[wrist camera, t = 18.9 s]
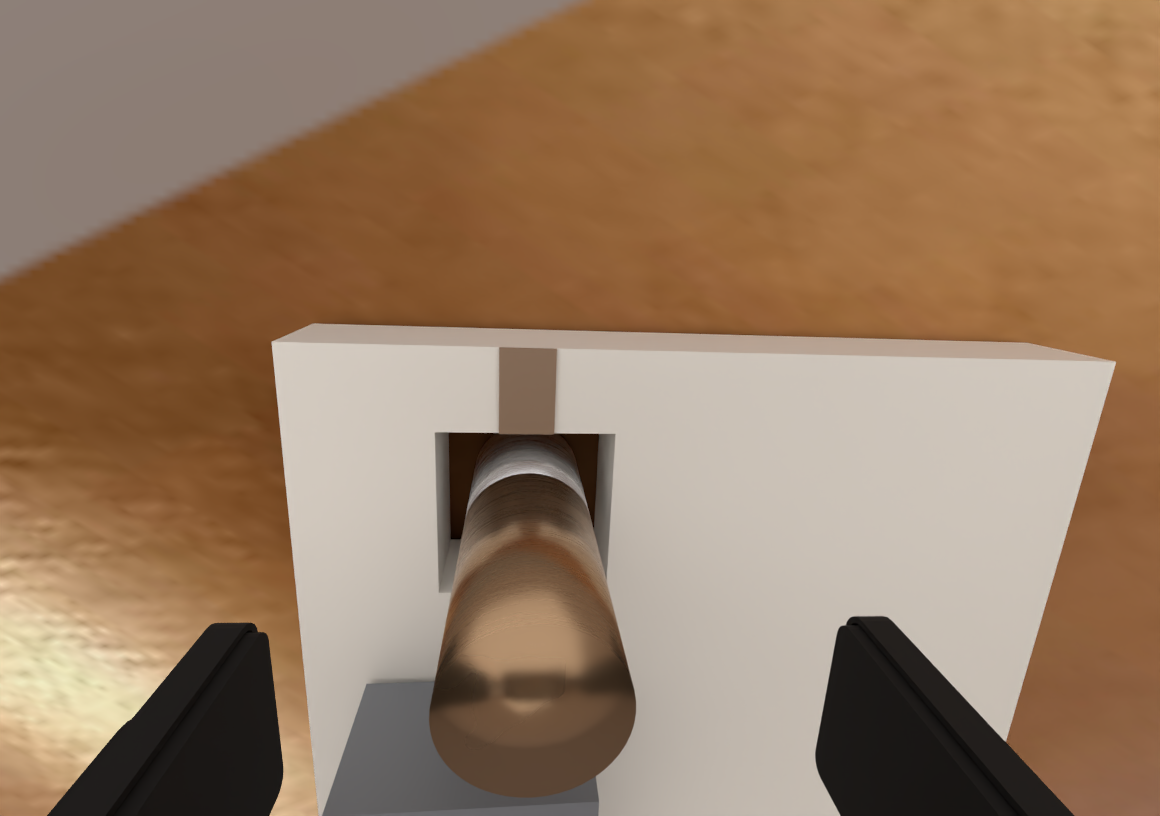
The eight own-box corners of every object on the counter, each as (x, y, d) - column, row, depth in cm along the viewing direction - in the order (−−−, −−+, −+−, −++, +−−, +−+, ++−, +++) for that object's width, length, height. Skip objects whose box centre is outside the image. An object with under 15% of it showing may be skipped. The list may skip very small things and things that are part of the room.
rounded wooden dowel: (579, 424, 19) (643, 624, 9) (575, 518, 19) (629, 792, 10) (474, 423, 18) (425, 630, 9) (474, 519, 19) (431, 803, 10)
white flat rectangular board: (1027, 342, 19) (1119, 362, 16) (917, 785, 24) (973, 862, 21) (313, 323, 17) (269, 342, 14) (352, 817, 22) (326, 909, 19)
